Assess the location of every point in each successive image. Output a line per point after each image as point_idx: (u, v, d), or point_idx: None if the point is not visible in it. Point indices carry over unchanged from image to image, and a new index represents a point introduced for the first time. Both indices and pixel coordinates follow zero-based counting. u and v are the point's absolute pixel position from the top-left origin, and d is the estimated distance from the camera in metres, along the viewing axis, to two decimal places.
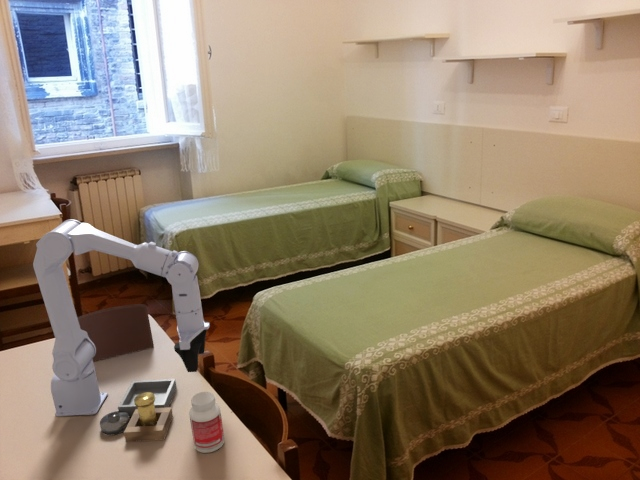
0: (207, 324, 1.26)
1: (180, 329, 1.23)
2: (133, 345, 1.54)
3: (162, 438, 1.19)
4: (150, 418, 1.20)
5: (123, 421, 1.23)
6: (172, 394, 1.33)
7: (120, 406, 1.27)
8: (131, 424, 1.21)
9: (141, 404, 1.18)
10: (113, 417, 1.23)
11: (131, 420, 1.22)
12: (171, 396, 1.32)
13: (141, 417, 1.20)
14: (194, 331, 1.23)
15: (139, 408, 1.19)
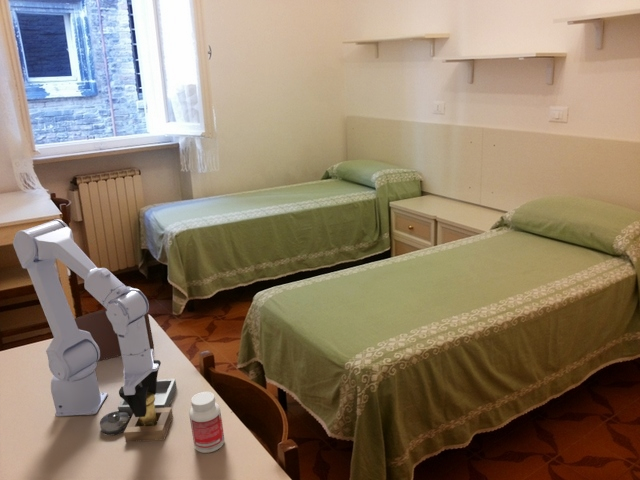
0: (156, 365, 1.18)
1: (126, 372, 1.16)
2: None
3: (162, 438, 1.19)
4: (150, 418, 1.20)
5: (123, 421, 1.23)
6: (172, 394, 1.33)
7: (120, 406, 1.27)
8: (131, 424, 1.21)
9: None
10: (113, 417, 1.23)
11: (131, 420, 1.22)
12: (171, 396, 1.32)
13: (141, 417, 1.20)
14: (141, 374, 1.15)
15: None
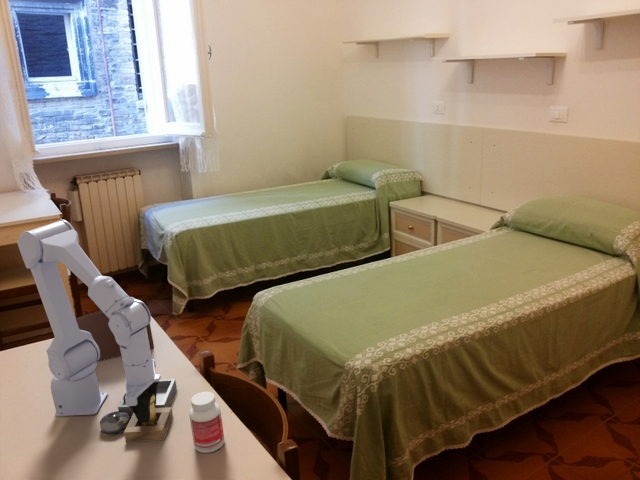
0: (158, 376, 1.19)
1: (128, 382, 1.16)
2: None
3: (162, 438, 1.19)
4: (150, 418, 1.20)
5: (123, 421, 1.23)
6: (172, 394, 1.33)
7: (120, 406, 1.27)
8: (131, 424, 1.21)
9: None
10: (113, 417, 1.23)
11: (131, 420, 1.22)
12: (171, 396, 1.32)
13: None
14: (143, 384, 1.16)
15: None
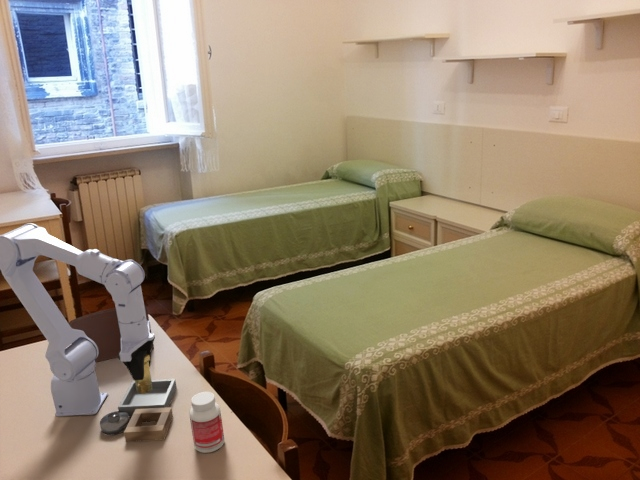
0: (152, 335, 1.22)
1: (123, 340, 1.20)
2: None
3: (162, 438, 1.19)
4: (144, 378, 1.24)
5: (123, 421, 1.23)
6: (172, 394, 1.33)
7: (120, 406, 1.27)
8: (131, 424, 1.21)
9: None
10: (113, 417, 1.23)
11: (131, 420, 1.22)
12: (171, 396, 1.32)
13: None
14: (137, 342, 1.20)
15: None
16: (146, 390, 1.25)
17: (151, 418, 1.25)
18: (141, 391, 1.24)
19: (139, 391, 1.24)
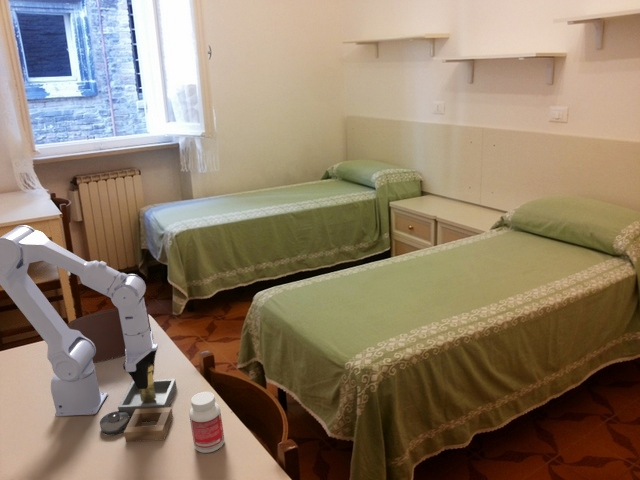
0: (155, 345, 1.28)
1: (128, 351, 1.25)
2: None
3: (162, 438, 1.19)
4: (148, 387, 1.29)
5: (123, 421, 1.23)
6: (172, 394, 1.33)
7: (120, 406, 1.27)
8: (131, 424, 1.21)
9: None
10: (113, 417, 1.23)
11: (131, 420, 1.22)
12: (171, 396, 1.32)
13: None
14: (141, 353, 1.25)
15: None
16: (150, 399, 1.30)
17: (151, 418, 1.25)
18: (145, 400, 1.29)
19: (143, 400, 1.30)
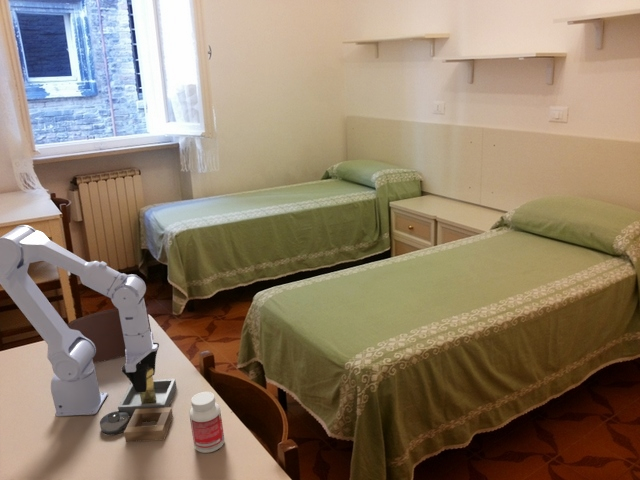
0: (155, 346, 1.28)
1: (128, 351, 1.25)
2: None
3: (162, 438, 1.19)
4: (149, 391, 1.29)
5: (123, 421, 1.23)
6: (172, 394, 1.33)
7: (120, 406, 1.27)
8: (131, 424, 1.21)
9: None
10: (113, 417, 1.23)
11: (131, 420, 1.22)
12: (171, 396, 1.32)
13: None
14: (141, 353, 1.25)
15: None
16: (150, 402, 1.30)
17: (151, 418, 1.25)
18: (146, 403, 1.30)
19: (144, 403, 1.30)
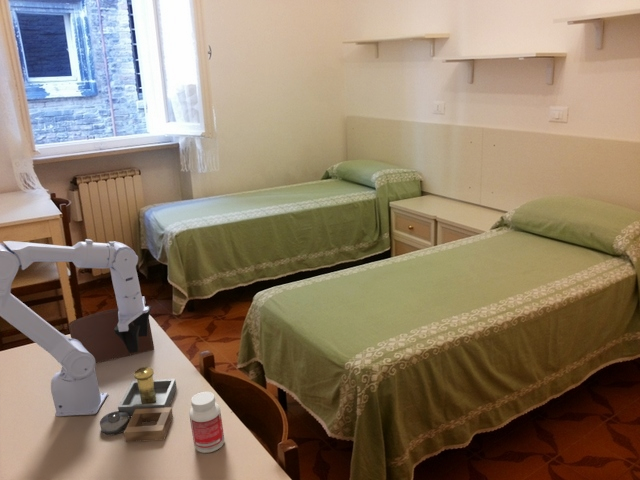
0: (147, 308, 1.35)
1: (120, 313, 1.32)
2: None
3: (162, 438, 1.19)
4: (149, 391, 1.29)
5: (123, 421, 1.23)
6: (172, 394, 1.33)
7: (120, 406, 1.27)
8: (131, 424, 1.21)
9: (140, 377, 1.27)
10: (113, 417, 1.23)
11: (131, 420, 1.22)
12: (171, 396, 1.32)
13: (140, 389, 1.29)
14: (133, 314, 1.32)
15: (138, 381, 1.28)
16: (150, 402, 1.30)
17: (151, 418, 1.25)
18: (146, 403, 1.30)
19: (144, 403, 1.30)
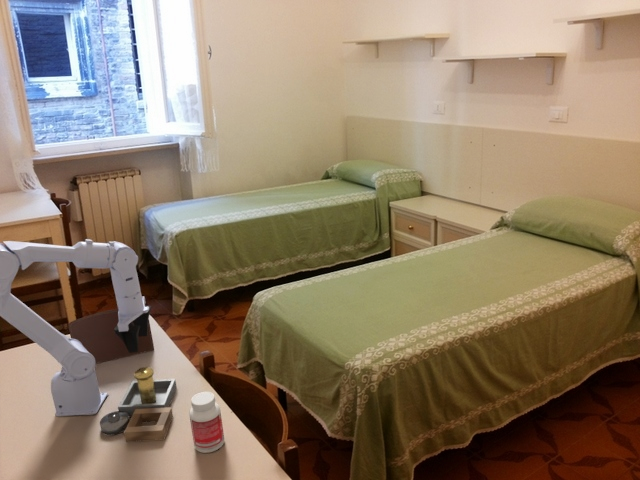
0: (147, 308, 1.35)
1: (120, 313, 1.32)
2: None
3: (162, 438, 1.19)
4: (149, 391, 1.29)
5: (123, 421, 1.23)
6: (172, 394, 1.33)
7: (120, 406, 1.27)
8: (131, 424, 1.21)
9: (140, 377, 1.27)
10: (113, 417, 1.23)
11: (131, 420, 1.22)
12: (171, 396, 1.32)
13: (140, 389, 1.29)
14: (133, 314, 1.32)
15: (138, 381, 1.28)
16: (150, 402, 1.30)
17: (151, 418, 1.25)
18: (146, 403, 1.30)
19: (144, 403, 1.30)
